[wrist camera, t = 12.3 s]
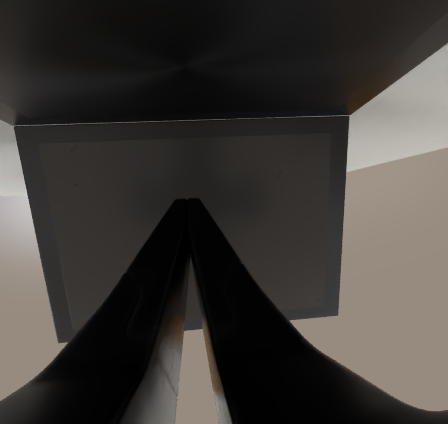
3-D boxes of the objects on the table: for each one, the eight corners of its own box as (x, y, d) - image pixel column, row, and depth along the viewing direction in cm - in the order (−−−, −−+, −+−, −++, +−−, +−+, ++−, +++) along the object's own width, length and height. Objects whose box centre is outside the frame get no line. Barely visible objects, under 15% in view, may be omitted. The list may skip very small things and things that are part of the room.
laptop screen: (57, 344, 21) (62, 337, 22) (338, 316, 23) (334, 311, 24) (12, 126, 17) (20, 127, 18) (350, 115, 19) (344, 117, 20)
